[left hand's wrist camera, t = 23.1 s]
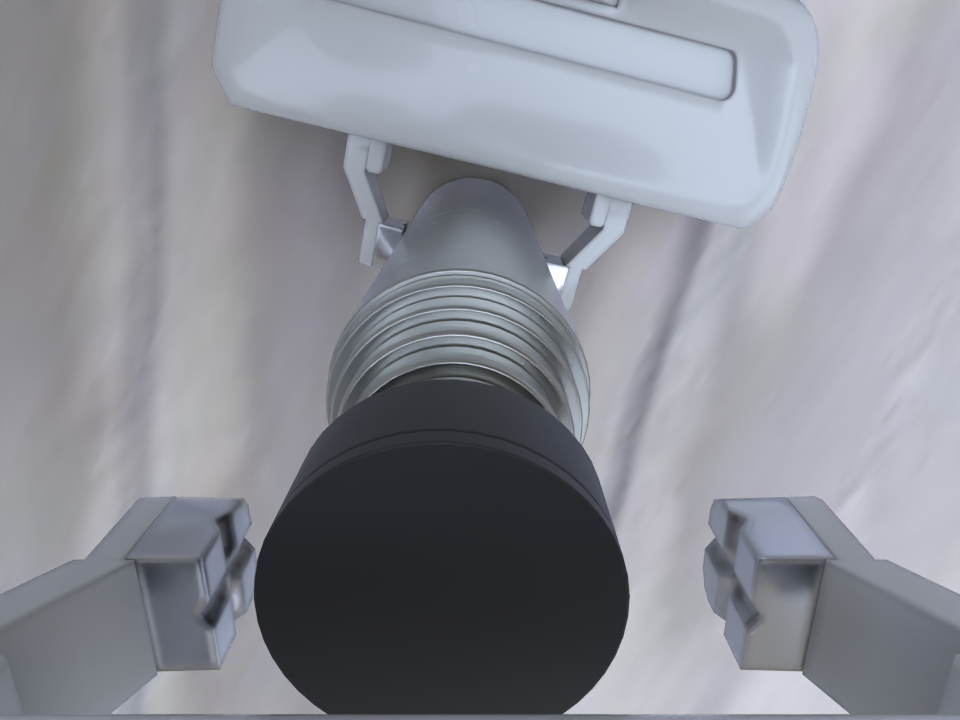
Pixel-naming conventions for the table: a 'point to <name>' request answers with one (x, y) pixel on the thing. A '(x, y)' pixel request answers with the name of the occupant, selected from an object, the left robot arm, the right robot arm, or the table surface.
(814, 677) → the left robot arm
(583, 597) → the cap
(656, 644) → the table surface
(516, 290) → the bottle
